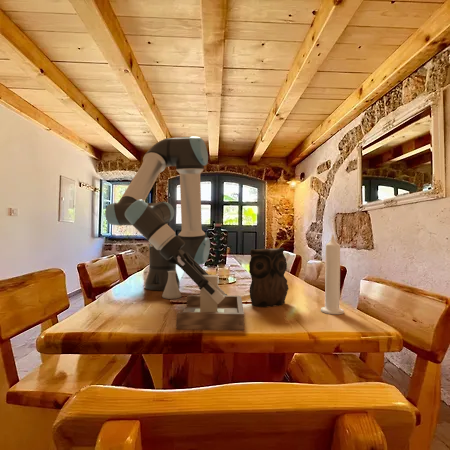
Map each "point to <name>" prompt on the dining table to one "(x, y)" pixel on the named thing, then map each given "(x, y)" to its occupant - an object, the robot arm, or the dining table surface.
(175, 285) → the flask
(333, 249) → the candle
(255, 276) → the owl
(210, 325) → the shallow rimmed tray
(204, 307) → the block
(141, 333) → the dining table surface
